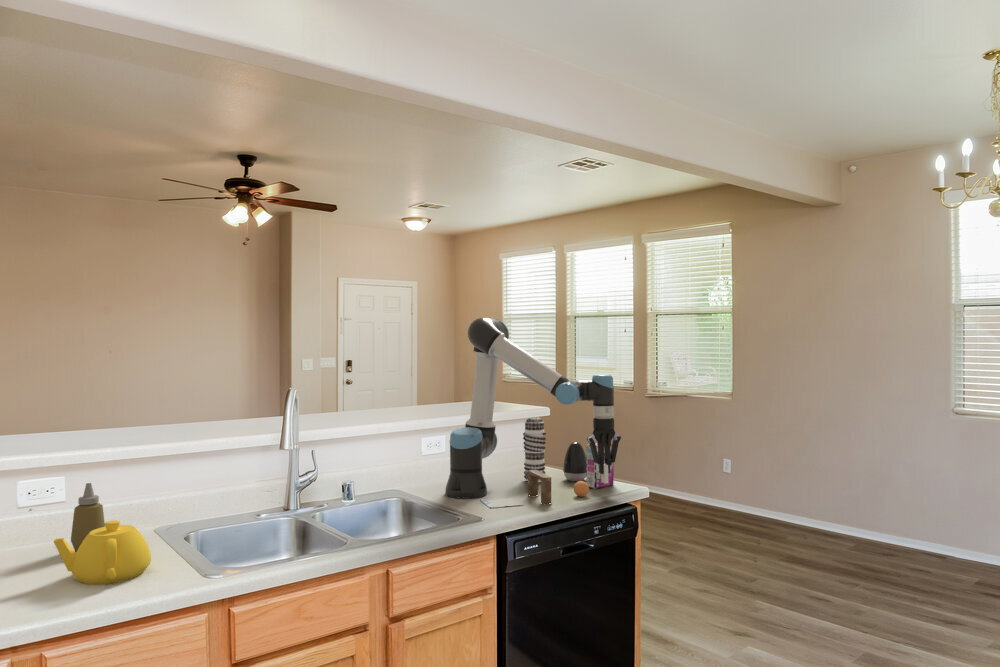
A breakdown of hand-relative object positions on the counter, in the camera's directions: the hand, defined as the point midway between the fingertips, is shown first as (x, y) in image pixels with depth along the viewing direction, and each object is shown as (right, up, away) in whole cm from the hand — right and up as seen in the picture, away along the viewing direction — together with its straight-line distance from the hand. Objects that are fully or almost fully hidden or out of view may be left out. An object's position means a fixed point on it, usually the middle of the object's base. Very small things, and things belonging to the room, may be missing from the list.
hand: (604, 482), depth 243 cm
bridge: (-24, -4, -8) cm, 26 cm away
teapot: (-132, -4, -83) cm, 156 cm away
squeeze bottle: (-148, -4, -63) cm, 161 cm away
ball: (-9, -2, -3) cm, 9 cm away
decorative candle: (-24, -5, +25) cm, 35 cm away
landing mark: (-37, -4, -12) cm, 39 cm away
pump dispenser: (-8, -5, +26) cm, 28 cm away
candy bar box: (+1, -5, +14) cm, 15 cm away
